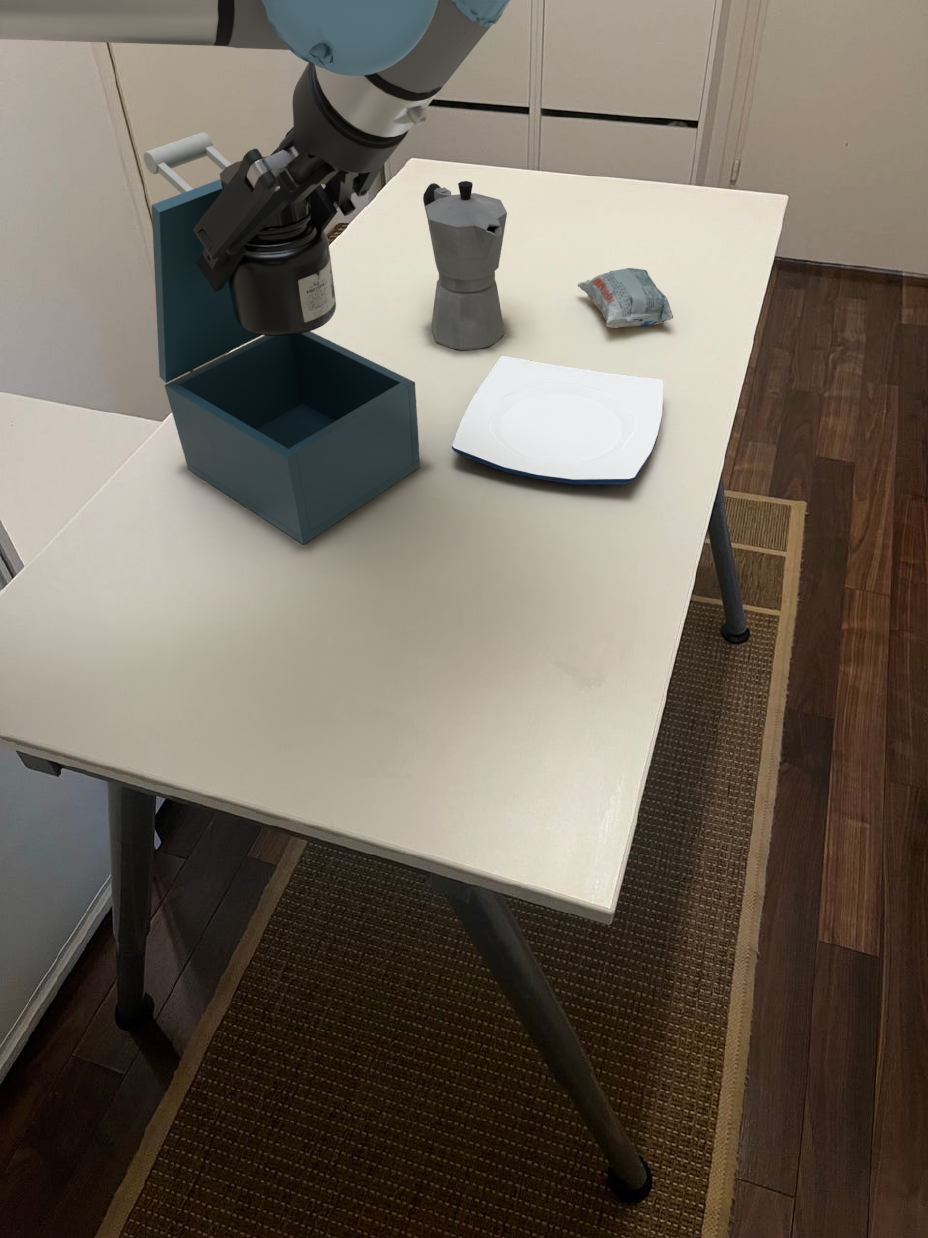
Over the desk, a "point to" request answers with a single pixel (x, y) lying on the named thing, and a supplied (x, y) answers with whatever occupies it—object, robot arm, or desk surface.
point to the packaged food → (628, 298)
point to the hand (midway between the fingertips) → (254, 256)
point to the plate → (562, 423)
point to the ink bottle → (283, 273)
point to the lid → (188, 267)
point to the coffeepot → (465, 265)
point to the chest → (297, 429)
